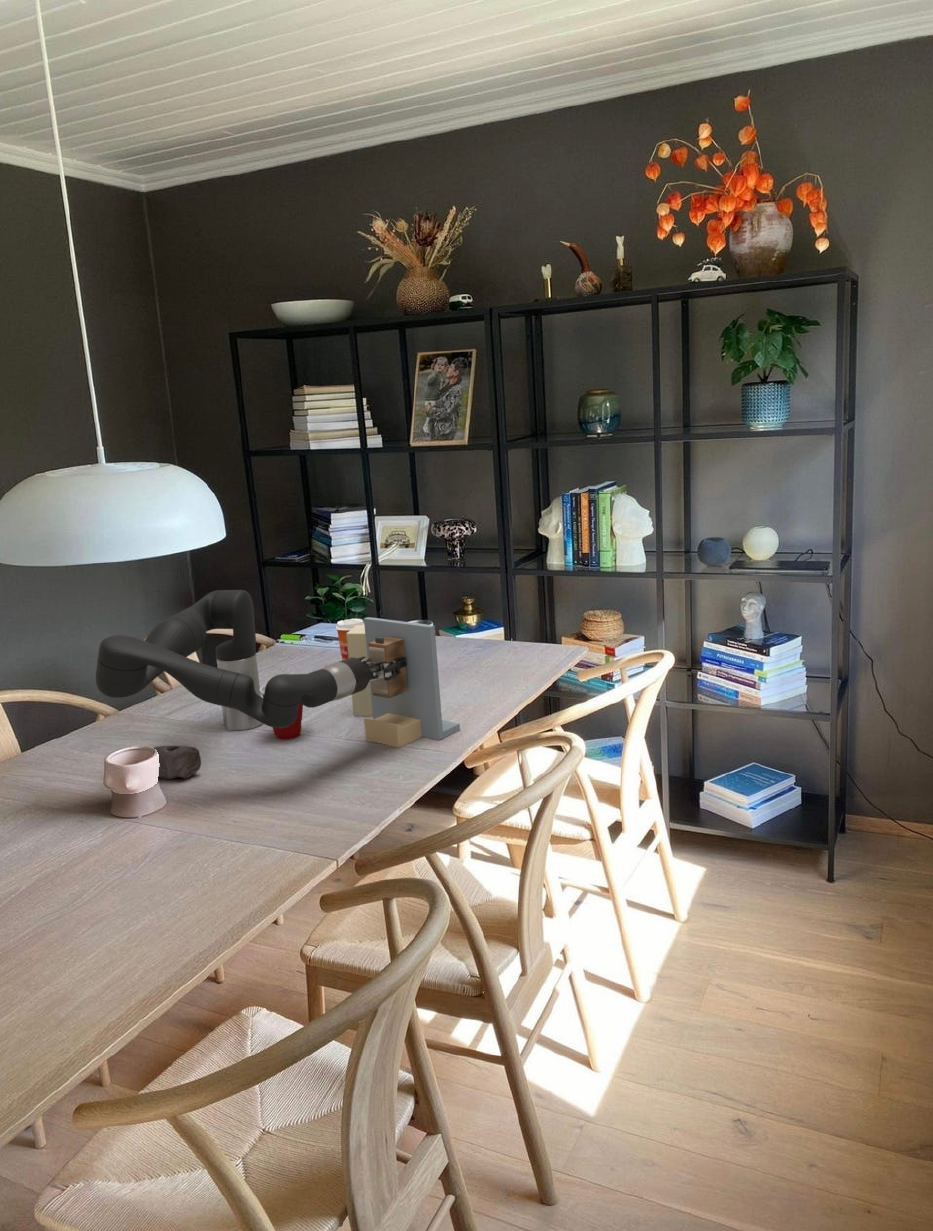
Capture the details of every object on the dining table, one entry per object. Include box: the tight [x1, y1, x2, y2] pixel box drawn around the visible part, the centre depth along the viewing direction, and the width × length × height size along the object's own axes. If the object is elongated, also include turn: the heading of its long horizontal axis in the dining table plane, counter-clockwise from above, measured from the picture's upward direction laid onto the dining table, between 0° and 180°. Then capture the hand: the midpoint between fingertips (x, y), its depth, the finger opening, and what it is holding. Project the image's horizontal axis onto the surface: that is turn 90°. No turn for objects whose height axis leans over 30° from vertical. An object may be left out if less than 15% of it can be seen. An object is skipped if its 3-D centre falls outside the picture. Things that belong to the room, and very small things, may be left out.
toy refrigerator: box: [346, 625, 373, 717], centre depth 229 cm, size 8×7×21 cm
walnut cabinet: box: [368, 637, 408, 698], centre depth 208 cm, size 6×5×13 cm
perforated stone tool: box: [153, 744, 202, 780], centre depth 198 cm, size 15×5×7 cm, turn 73°
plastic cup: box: [259, 683, 304, 741], centre depth 217 cm, size 11×11×12 cm
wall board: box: [363, 616, 461, 749], centre depth 211 cm, size 15×20×26 cm
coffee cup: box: [335, 618, 364, 661], centre depth 263 cm, size 8×8×15 cm
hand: (395, 659), depth 209 cm, fingers closed on walnut cabinet, 5 cm apart
